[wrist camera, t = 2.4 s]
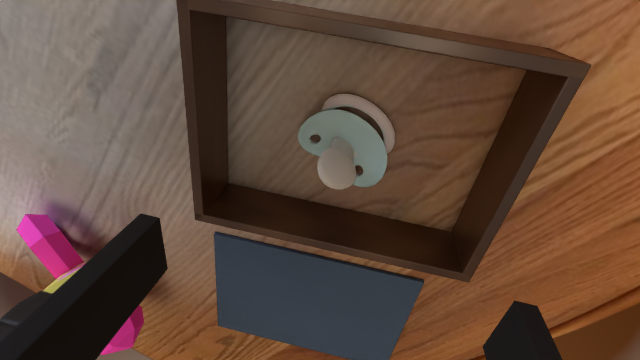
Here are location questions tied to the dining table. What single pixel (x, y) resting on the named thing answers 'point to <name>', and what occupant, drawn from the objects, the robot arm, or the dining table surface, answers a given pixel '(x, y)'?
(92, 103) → the dining table surface
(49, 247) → the toy
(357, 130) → the pacifier
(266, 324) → the mat
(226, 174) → the open box
